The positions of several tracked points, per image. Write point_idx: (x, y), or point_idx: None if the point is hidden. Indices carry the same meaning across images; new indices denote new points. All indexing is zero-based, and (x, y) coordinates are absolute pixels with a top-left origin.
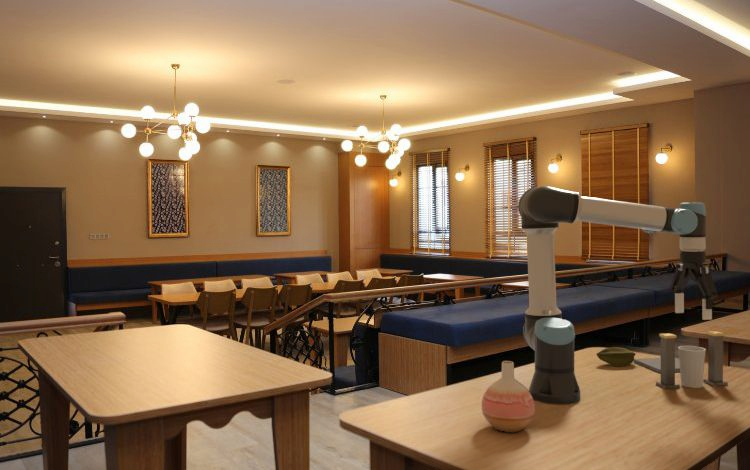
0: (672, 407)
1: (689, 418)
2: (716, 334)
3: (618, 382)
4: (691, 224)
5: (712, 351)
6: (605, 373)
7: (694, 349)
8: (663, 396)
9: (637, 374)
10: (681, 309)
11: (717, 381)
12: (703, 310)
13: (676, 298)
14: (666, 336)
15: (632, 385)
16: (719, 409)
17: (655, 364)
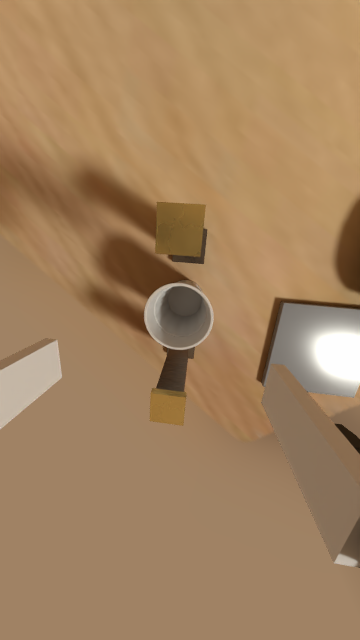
0: (64, 152)
1: (2, 138)
2: (151, 397)
3: (252, 151)
4: None
5: (171, 365)
6: (335, 170)
7: (196, 338)
8: (131, 186)
9: (291, 247)
10: (271, 403)
11: None
12: (2, 361)
13: (326, 440)
14: (157, 204)
15: (219, 171)
16: (49, 236)
17: (322, 324)
